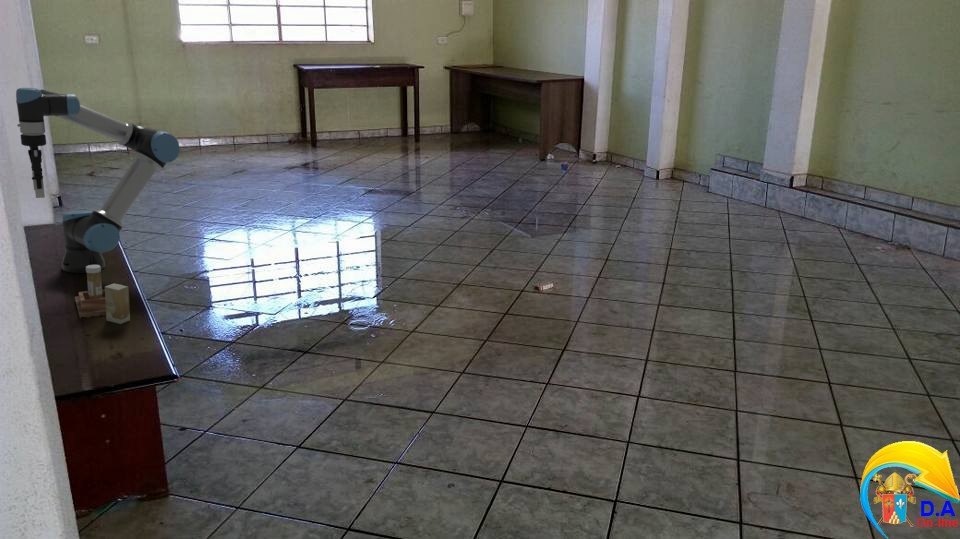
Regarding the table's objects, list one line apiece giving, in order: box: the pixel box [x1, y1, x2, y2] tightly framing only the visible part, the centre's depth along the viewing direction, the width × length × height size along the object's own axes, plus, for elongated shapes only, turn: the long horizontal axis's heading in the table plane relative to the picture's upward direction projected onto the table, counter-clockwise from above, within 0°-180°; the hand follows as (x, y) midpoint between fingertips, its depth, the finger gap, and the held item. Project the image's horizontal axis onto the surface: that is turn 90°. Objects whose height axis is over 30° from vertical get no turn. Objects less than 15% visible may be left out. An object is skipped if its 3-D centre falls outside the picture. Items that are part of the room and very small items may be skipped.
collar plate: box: [74, 288, 106, 319], centre depth 257 cm, size 18×12×4 cm, turn 32°
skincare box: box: [104, 283, 131, 325], centre depth 246 cm, size 6×4×12 cm
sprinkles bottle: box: [86, 265, 103, 299], centre depth 255 cm, size 5×5×13 cm
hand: (39, 193), depth 264 cm, fingers open, 13 cm apart
